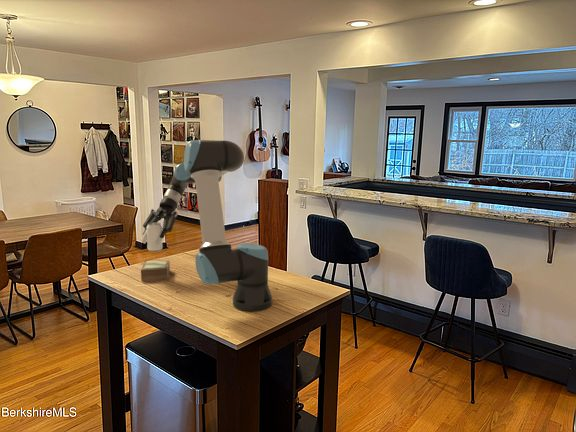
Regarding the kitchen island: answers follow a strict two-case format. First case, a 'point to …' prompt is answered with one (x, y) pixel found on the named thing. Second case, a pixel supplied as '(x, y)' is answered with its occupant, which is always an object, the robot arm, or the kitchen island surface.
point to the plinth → (155, 270)
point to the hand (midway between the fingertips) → (149, 242)
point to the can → (153, 236)
